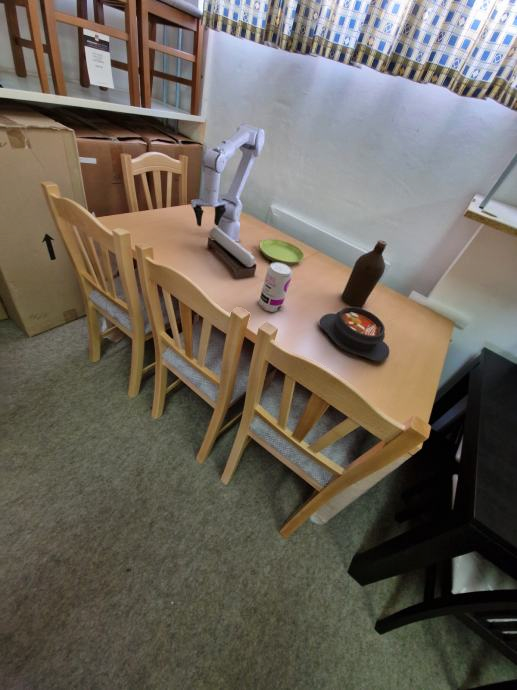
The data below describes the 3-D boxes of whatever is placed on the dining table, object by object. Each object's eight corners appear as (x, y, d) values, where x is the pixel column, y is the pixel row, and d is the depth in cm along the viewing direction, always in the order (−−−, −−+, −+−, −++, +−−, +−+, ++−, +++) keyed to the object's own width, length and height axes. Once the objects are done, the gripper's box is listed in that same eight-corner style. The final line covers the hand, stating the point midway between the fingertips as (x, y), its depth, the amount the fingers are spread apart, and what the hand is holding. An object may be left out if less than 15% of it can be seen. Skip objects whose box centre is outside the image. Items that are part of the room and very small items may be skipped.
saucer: (279, 272, 123) (281, 265, 120) (248, 248, 132) (250, 242, 130) (310, 263, 135) (313, 257, 133) (280, 242, 144) (282, 236, 142)
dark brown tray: (224, 247, 128) (226, 236, 125) (254, 276, 115) (256, 264, 112) (207, 249, 124) (208, 237, 120) (235, 279, 111) (237, 267, 107)
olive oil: (367, 311, 115) (401, 252, 98) (342, 306, 113) (372, 245, 97) (361, 296, 123) (391, 238, 106) (337, 291, 121) (364, 232, 104)
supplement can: (283, 303, 106) (295, 267, 96) (277, 315, 100) (289, 278, 90) (263, 296, 107) (272, 258, 97) (255, 307, 101) (265, 268, 91)
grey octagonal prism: (260, 259, 111) (222, 229, 122) (252, 255, 106) (214, 224, 118) (252, 271, 112) (215, 240, 124) (244, 267, 108) (207, 236, 119)
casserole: (393, 348, 101) (407, 329, 95) (374, 375, 89) (388, 356, 83) (332, 310, 110) (341, 292, 104) (307, 331, 97) (315, 311, 92)
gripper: (197, 192, 102) (195, 230, 111) (233, 193, 110) (228, 228, 119) (189, 184, 106) (187, 222, 115) (224, 186, 114) (220, 221, 123)
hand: (207, 224), depth 117 cm, fingers open, 7 cm apart
